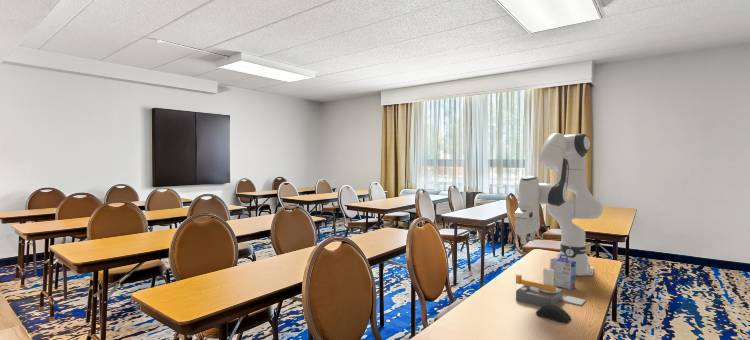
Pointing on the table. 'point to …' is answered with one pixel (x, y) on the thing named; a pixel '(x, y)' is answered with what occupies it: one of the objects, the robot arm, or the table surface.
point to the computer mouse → (553, 313)
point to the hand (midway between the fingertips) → (527, 242)
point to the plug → (548, 280)
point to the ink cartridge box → (563, 272)
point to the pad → (574, 300)
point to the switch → (538, 296)
